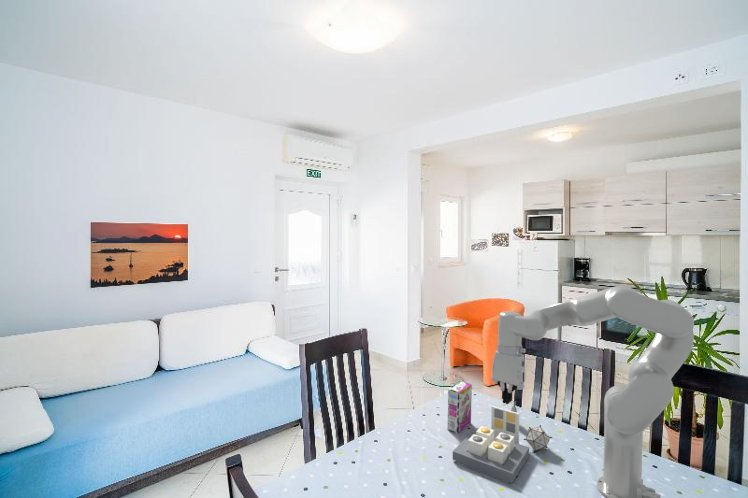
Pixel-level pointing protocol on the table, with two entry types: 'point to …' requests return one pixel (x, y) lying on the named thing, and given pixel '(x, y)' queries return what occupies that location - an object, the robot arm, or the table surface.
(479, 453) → the button
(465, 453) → the board
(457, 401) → the candy bar box
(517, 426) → the card
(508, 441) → the button
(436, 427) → the table surface
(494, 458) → the button
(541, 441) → the game die
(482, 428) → the button
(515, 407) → the pocket watch
